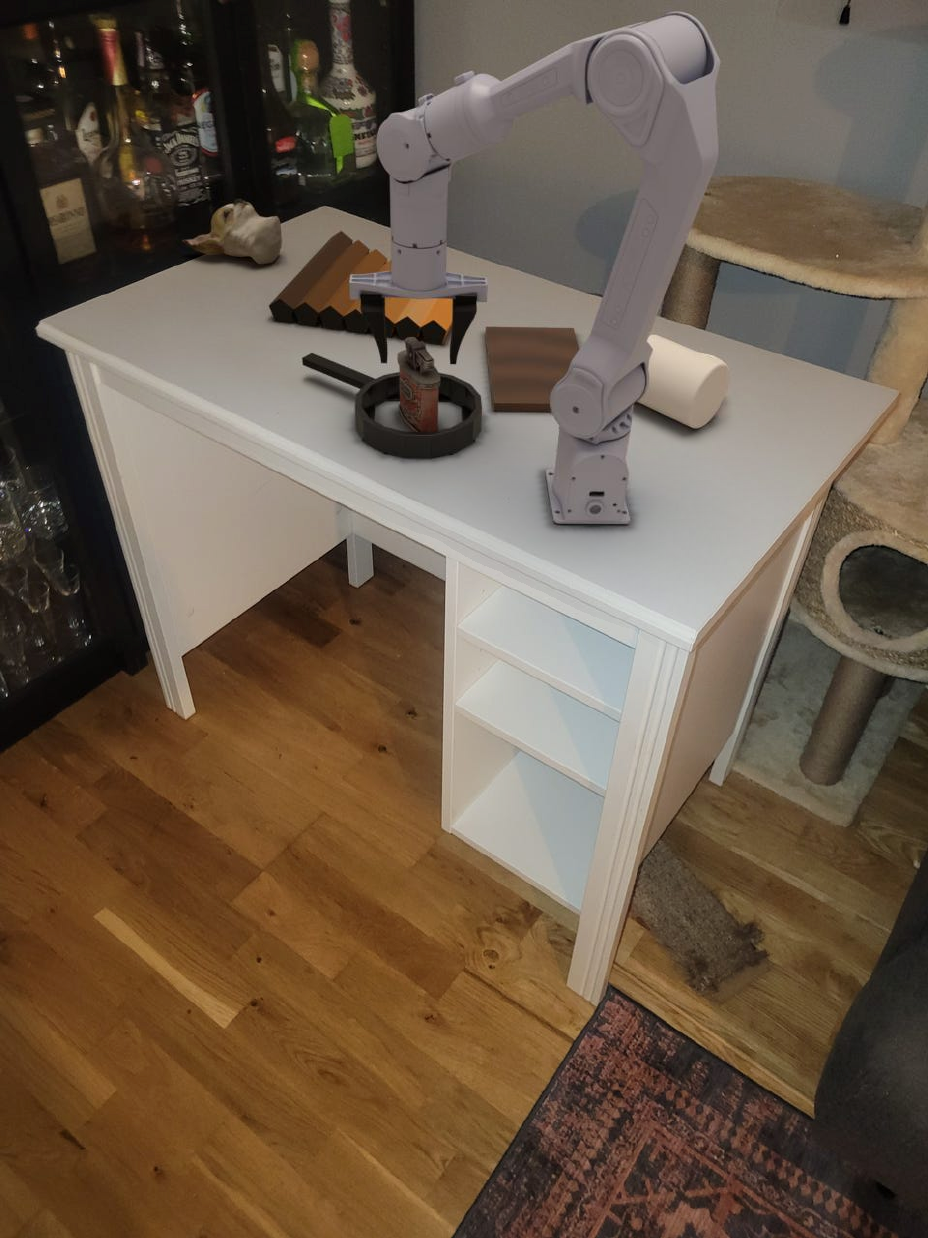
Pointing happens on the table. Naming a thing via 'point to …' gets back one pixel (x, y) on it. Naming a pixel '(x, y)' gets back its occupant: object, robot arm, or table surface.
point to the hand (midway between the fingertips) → (418, 359)
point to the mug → (684, 382)
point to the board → (527, 365)
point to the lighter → (418, 388)
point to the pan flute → (328, 299)
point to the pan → (390, 390)
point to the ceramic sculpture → (241, 234)
